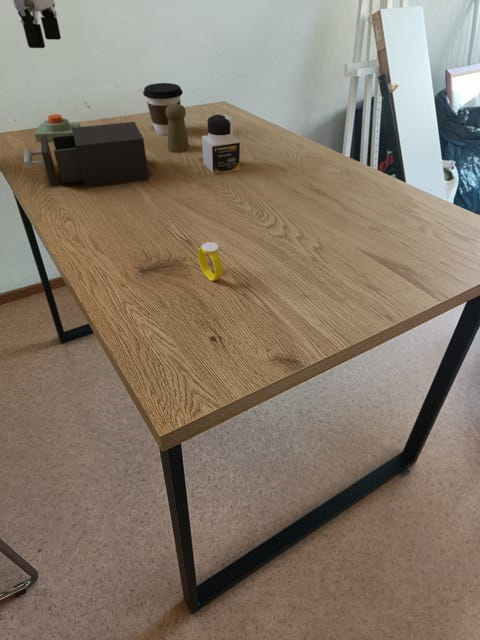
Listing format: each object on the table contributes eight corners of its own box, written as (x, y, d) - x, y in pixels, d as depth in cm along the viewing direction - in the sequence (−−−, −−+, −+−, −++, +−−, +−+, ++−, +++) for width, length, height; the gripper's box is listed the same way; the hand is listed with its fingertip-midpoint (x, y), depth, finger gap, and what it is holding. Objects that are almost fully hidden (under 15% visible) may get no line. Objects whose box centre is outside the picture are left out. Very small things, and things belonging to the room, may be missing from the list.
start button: (48, 125, 126) (46, 118, 125) (50, 121, 128) (48, 114, 127) (61, 124, 126) (60, 117, 125) (63, 120, 129) (62, 114, 128)
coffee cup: (148, 126, 137) (143, 82, 129) (185, 125, 138) (182, 82, 130) (147, 138, 128) (141, 93, 121) (185, 137, 129) (182, 92, 121)
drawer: (30, 190, 100) (19, 155, 95) (30, 170, 108) (20, 137, 103) (112, 179, 105) (106, 145, 100) (106, 161, 113) (100, 129, 108)
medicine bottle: (213, 174, 109) (211, 123, 102) (203, 164, 114) (200, 114, 107) (240, 170, 112) (240, 119, 104) (229, 160, 117) (228, 110, 109)
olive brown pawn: (163, 150, 121) (158, 106, 114) (174, 143, 126) (170, 100, 119) (183, 153, 120) (179, 109, 113) (193, 146, 124) (190, 103, 117)
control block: (36, 142, 126) (32, 127, 123) (42, 131, 132) (38, 117, 130) (77, 140, 127) (74, 125, 124) (80, 129, 134) (77, 115, 131)
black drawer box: (85, 188, 103) (75, 145, 97) (81, 167, 112) (72, 127, 106) (148, 179, 107) (143, 138, 101) (139, 160, 116) (134, 121, 110)
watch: (195, 270, 78) (193, 240, 74) (209, 265, 79) (207, 235, 75) (212, 287, 74) (210, 257, 70) (226, 282, 75) (226, 252, 72)
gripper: (19, -65, 90) (42, 36, 101) (-21, -65, 77) (10, 51, 88) (56, -64, 90) (75, 36, 101) (22, -64, 77) (49, 51, 88)
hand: (45, 43), depth 94 cm, fingers open, 9 cm apart
